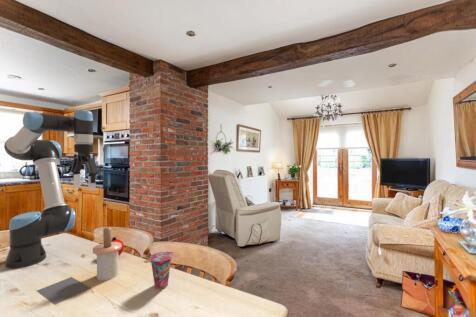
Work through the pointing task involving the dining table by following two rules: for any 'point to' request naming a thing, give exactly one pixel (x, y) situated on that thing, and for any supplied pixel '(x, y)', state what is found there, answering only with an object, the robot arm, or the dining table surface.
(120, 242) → the ornament
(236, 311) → the dining table surface
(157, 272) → the cup
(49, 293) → the mat
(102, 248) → the lid
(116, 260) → the white round pillar
